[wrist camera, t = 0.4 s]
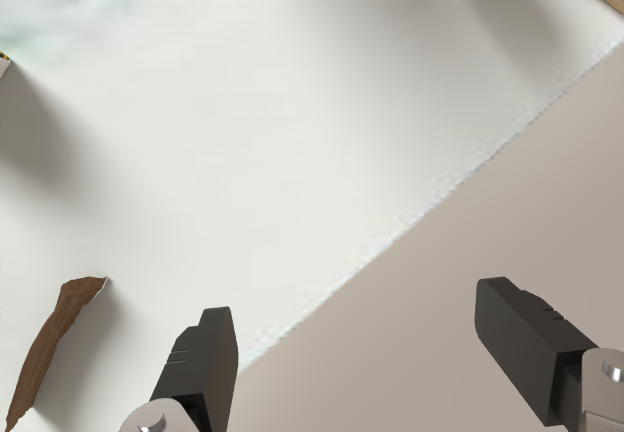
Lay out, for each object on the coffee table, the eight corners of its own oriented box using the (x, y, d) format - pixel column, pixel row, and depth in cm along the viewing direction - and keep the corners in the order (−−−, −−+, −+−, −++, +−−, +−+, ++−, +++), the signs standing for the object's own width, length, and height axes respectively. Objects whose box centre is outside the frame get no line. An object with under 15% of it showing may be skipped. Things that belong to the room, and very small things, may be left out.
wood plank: (46, 410, 37) (13, 448, 33) (25, 403, 37) (-12, 441, 32) (107, 275, 36) (82, 294, 31) (86, 267, 36) (57, 284, 31)
